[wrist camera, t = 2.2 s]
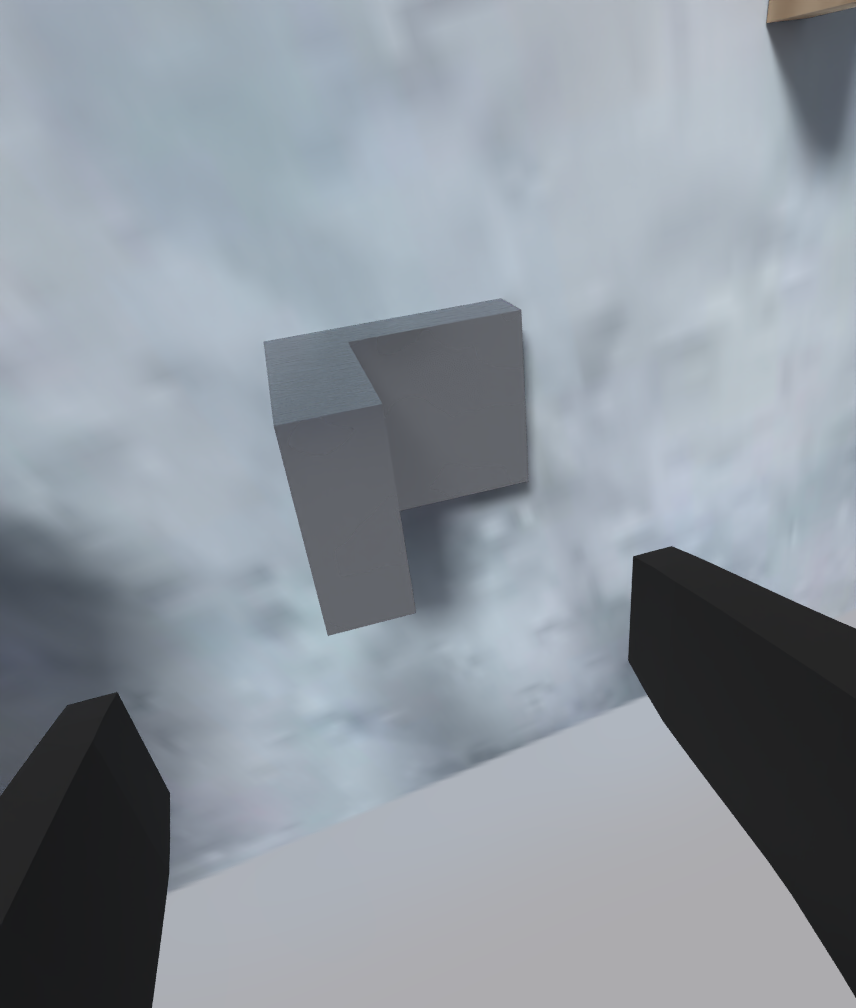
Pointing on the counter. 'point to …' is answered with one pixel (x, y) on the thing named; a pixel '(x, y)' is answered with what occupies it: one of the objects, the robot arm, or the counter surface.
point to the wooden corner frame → (804, 8)
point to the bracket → (393, 439)
